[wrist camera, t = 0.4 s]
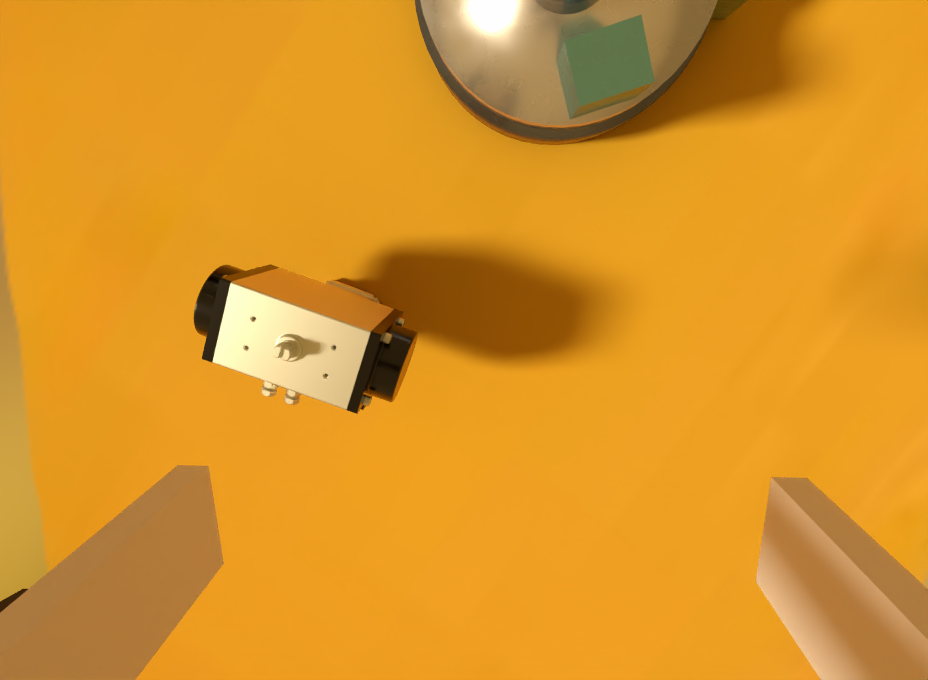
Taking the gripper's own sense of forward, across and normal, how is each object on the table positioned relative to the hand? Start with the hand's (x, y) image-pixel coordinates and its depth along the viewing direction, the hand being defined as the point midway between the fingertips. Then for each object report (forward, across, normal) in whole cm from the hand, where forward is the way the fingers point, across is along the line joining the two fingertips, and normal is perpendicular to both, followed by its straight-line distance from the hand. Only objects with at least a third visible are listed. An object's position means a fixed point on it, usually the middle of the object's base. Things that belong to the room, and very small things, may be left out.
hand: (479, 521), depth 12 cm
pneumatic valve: (+26, -11, -1) cm, 28 cm away
